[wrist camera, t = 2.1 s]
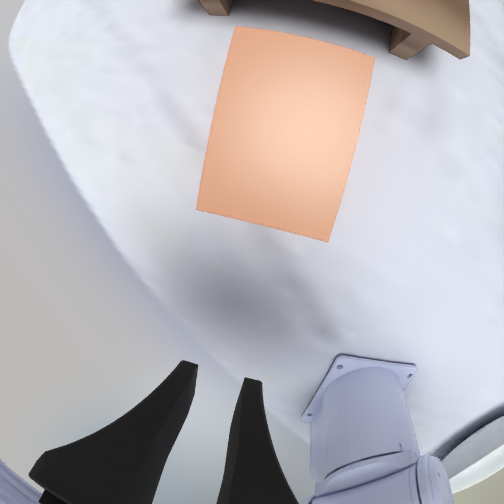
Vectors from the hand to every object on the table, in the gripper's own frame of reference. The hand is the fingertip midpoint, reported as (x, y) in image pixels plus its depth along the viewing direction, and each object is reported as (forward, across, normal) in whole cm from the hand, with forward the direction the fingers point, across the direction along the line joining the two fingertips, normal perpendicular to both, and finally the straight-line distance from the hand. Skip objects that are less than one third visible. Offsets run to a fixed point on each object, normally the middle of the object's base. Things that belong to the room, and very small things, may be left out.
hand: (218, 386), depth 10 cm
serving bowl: (+10, -42, +20) cm, 47 cm away
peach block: (+9, 0, -10) cm, 14 cm away
